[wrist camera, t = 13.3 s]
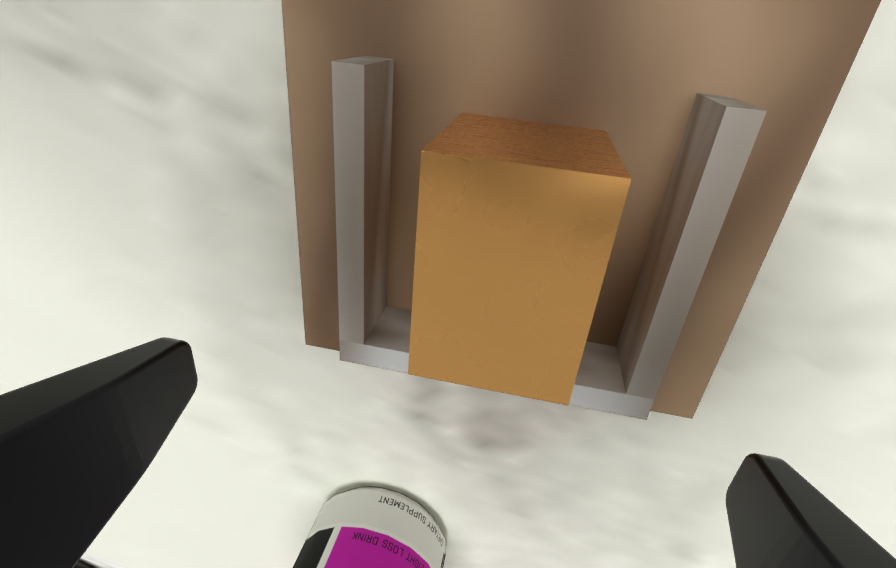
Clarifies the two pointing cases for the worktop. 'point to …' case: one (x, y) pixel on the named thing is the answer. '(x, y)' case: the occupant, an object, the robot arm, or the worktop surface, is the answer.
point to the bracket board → (572, 104)
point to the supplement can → (372, 533)
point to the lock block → (512, 252)
